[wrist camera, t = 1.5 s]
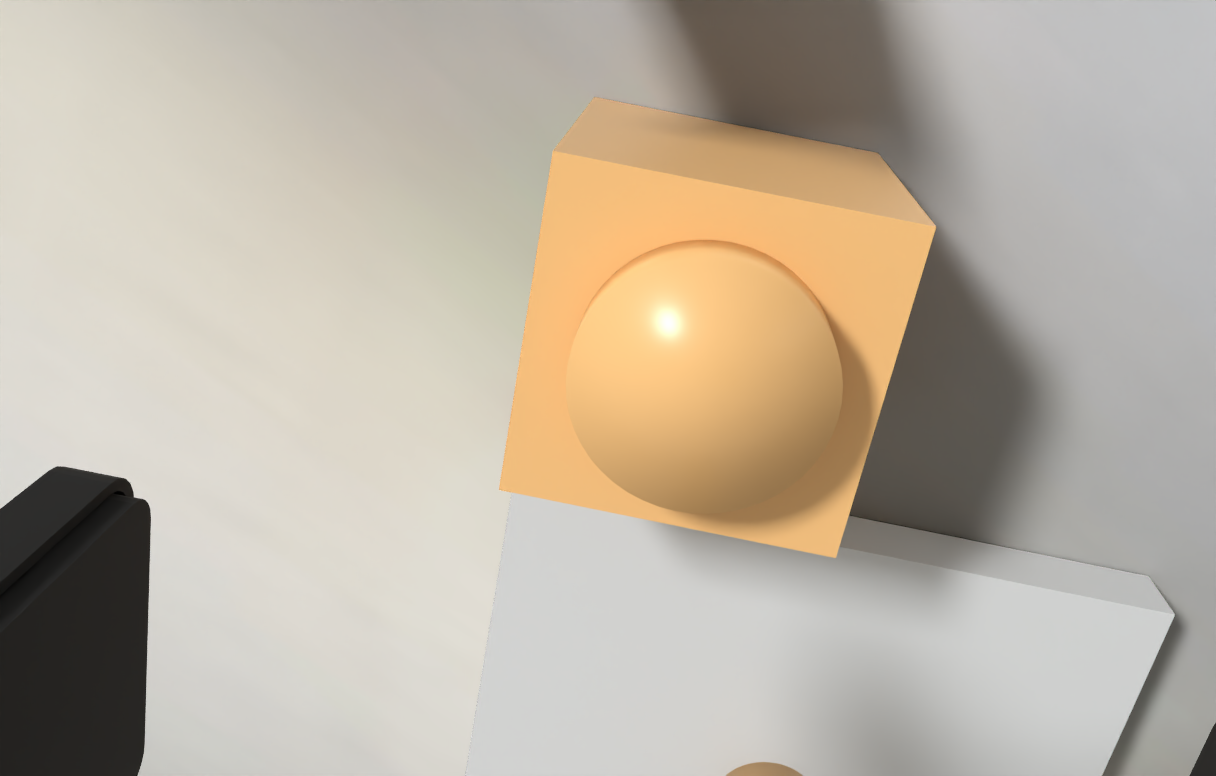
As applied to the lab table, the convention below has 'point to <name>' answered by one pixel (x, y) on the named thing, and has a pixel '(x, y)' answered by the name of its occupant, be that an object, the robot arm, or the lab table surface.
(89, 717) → the robot arm
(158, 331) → the lab table surface
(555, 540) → the plate
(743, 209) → the orange cube with hemisphere
